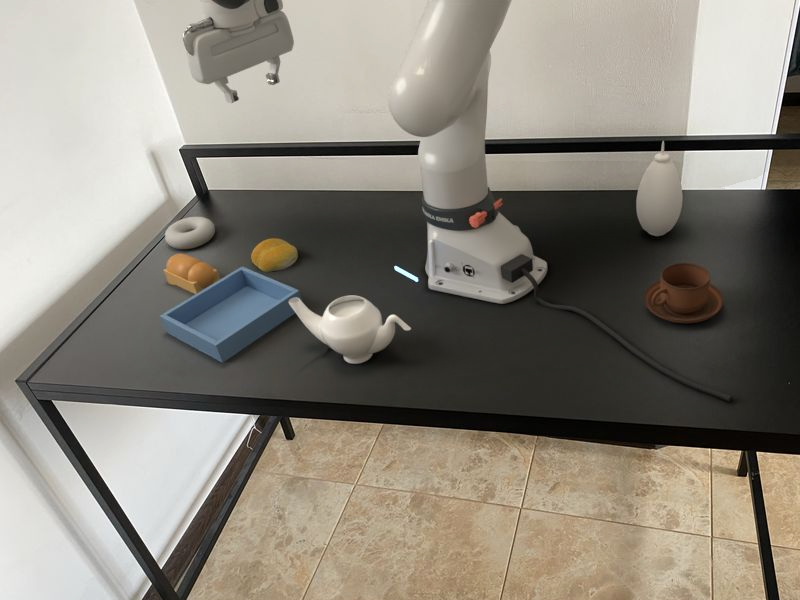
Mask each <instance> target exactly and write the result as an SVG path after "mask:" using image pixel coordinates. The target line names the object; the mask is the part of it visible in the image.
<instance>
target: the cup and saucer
mask: <svg viewBox="0 0 800 600" xmlns="http://www.w3.org/2000/svg"><path fill="white" fill-rule="evenodd" d="M643 299H644V303H645V306H646V307H647V309H648V310H649V311H650V312H651V313H652V314H654V315H655V316H657V317H658V318H661V319H662V320H665V321H668V322H671V323H677V324H694V323H700V322H703V321H706V320H708V319H710V318H713V317H714V316H716V315H717V314H718V313H719V312H720V311H721V309H722V308H723V304H724V297H723V294H722V293H721V291H720V290H719V289H718V288H717V287H716V286H715V285H713V284H712V283H711V274H710V272H709V270H708V269H707V268H705V266H701V265H699V264H697V263H692V262H677V263H672V264H670V265H667V266H666V267H664V268H663V269H662V270H661V274H660V280H657V281H656V282H653V283H652V284H651V285H650V286H649V287H648V288H646V290H645V292H644V296H643Z"/></svg>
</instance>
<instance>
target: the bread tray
mask: <svg viewBox="0 0 800 600" xmlns="http://www.w3.org/2000/svg"><path fill="white" fill-rule="evenodd" d="M295 297H297V298H299V299H300V300H301V301H302V302H303V299H302V296H301V292H300V290H299V289H297V288H295V287H292V286H290V285H289V284H288V285H287V284H285V283H283V282H280V281H278V280H275V279H273V278H271V277H269V276H266V275H263V274H261V273H258V272H256V271H255V270H251V269H250V268H247V267H245V266H240V267H239V268H237V269H235V270H233V271H232V272H230V273H229V274H227V275H225V276H223V277H221V278H220V280H219V281H217V282H215V283H214V284H212V285H210V286H209V287H207V288H205V289H204V290H202V291H200V292H199V293H197V294H194V295H192V296H191V297H189V298H187V299H185V300H184V301H182V302H180V303H179V304H177V305H175V306H174V307H172V308H170V309H169V310H167V311H166V312H164V313H162V314H160V315H159V319H160V320H161V322H162V324H163V326H164V329H165V332H166V333H167V334H169V335H171V336H172V337H174V338H176V339H177V340H180V341H181V342H183V343H185V344H186V345H189V346H191V347H193V348H195V349H196V350H198V351H200V352H202V353H204V354H206V355H207V356H209V357H211V358H213V359H215V360H217V361H219V362H220V363H224V362H226V361H228V360H229V359H231V358H233V356H235V355H236V354H238V353H239V352H241V351H242V350H244V349H245V348H247V347H248V346H250V345H252V343H254V342H256V341H257V340H258V339H260V338H261V337H262V336H264V335H266V334H267V333H269V332H270V331H271V330H273V329H274V328H276V327H277V326H279V325H280V324H282V323H283V322H285V321H286V320H288V319H289V318H290V317H292V316H293V315H295V314H296V313H295V312H294V310H293V309H292V307H291V306H290V304H289V300H290V299H291V298H295Z"/></svg>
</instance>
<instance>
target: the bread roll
mask: <svg viewBox="0 0 800 600" xmlns="http://www.w3.org/2000/svg"><path fill="white" fill-rule="evenodd" d="M298 257H299V253H298V249H297V248H296V247H295V246H294V245H293V244H292V245H291V244H290V243H289V242H288V241H286V240H284V239H281V238H273V237H271V238H267V239H264V240H262V241H260V242H259V243H258V244H257V245H256V246H255V247H254V249H253V250H252V252H251V255H250V258H251V259H250V260H251V262H252V263H253V265H254V266H256V267H257V268H258V269H260V270H261V271H262V272H264V273H271V272H277V271H283V270H286V269H288V268H290V267H291V266H293V265H294V264H295V263H296V261H298Z"/></svg>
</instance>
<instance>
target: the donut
mask: <svg viewBox="0 0 800 600" xmlns="http://www.w3.org/2000/svg"><path fill="white" fill-rule="evenodd" d="M215 233H216V228H215V224H214V223H213V221H212V220H210V219H209V218H206V217H204V216H189V217H184V218H182V219H179V220H177V221H175V222H173V223H171V225H169V226H168V227H167V229H166V230H165V234H164V239H165V242H166V243H167V244H168V245H169V246H170V247H171V248H174V249H177V250H190V249H195V248H198V247H201V246H203V245H205V244H206V243H209V241H211V239H213V237H214V235H215Z"/></svg>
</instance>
